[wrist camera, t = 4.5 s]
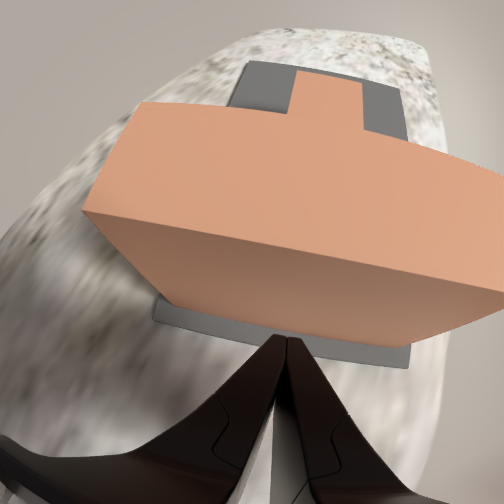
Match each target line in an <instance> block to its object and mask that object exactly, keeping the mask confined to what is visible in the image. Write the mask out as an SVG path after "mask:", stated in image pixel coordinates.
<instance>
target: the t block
mask: <svg viewBox="0 0 504 504" xmlns="http://www.w3.org/2000/svg"><path fill="white" fill-rule="evenodd" d="M81 210H82V211H83V213H84V214H85V215H86V216H87V217H88V218H89V219H90V220H91V222H92V223H93V224H94V225H95V226H96V227H97V228H98V229H99V230H100V231H101V233H102V234H103V235H104V236H105V237H106V238H107V239H108V240H109V241H110V242H111V243H112V244H113V245H114V246H115V247H116V249H117V250H118V251H119V252H120V253H121V254H122V255H123V256H124V257H125V258H126V259H127V260H128V261H129V262H130V263H131V264H132V265H133V266H134V267H135V268H136V269H137V270H138V271H139V272H140V273H141V274H142V275H143V276H144V277H145V278H146V279H147V280H148V281H149V282H150V283H151V284H152V285H153V286H154V287H155V288H156V289H157V290H158V291H159V292H160V293H161V294H162V295H163V296H164V297H165V298H166V299H167V300H169V301H170V302H171V303H172V304H173V305H174V306H176V307H180V308H184V309H188V310H192V311H196V312H200V313H204V314H209V315H213V316H217V317H222V318H226V319H231V320H235V321H240V322H244V323H249V324H254V325H259V326H263V327H268V328H273V329H278V330H284V331H289V332H294V333H299V334H305V335H311V336H316V337H322V338H328V339H334V340H340V341H346V342H353V343H359V344H366V345H373V346H380V347H388V348H398V347H402V346H405V345H408V344H411V343H414V342H417V341H420V340H424V339H427V338H430V337H432V336H435V335H438V334H441V333H444V332H447V331H449V330H452V329H455V328H458V327H460V326H463V325H465V324H468V323H471V322H473V321H476V320H478V319H481V318H483V317H485V316H488V315H490V314H493V313H495V312H497V311H500V310H502V309H504V176H501V175H500V174H497V173H495V172H492V171H490V170H488V169H485V168H483V167H480V166H477V165H475V164H473V163H470V162H467V161H465V160H462V159H459V158H456V157H454V156H451V155H448V154H445V153H442V152H439V151H436V150H433V149H430V148H427V147H424V146H421V145H418V144H414V143H411V142H408V141H404V140H401V139H397V138H394V137H390V136H386V135H383V134H379V133H375V132H371V131H367V130H364V123H363V94H362V83H360V82H355V81H351V80H347V79H342V78H337V77H332V76H327V75H322V74H317V73H311V72H305V71H299V70H297V73H296V77H295V82H294V86H293V90H292V95H291V99H290V103H289V108H288V112H287V114H282V113H275V112H268V111H261V110H253V109H244V108H235V107H225V106H214V105H201V104H184V103H158V102H141V104H140V105H139V107H138V108H137V110H136V111H135V113H134V114H133V116H132V118H131V119H130V121H129V122H128V124H127V126H126V127H125V129H124V130H123V132H122V134H121V135H120V137H119V139H118V141H117V142H116V144H115V146H114V147H113V149H112V151H111V153H110V155H109V156H108V158H107V160H106V162H105V164H104V165H103V167H102V169H101V171H100V173H99V175H98V177H97V179H96V181H95V183H94V185H93V187H92V189H91V191H90V193H89V195H88V197H87V199H86V201H85V203H84V205H83V207H82V209H81Z"/></svg>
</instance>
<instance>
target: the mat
mask: <svg viewBox="0 0 504 504" xmlns="http://www.w3.org/2000/svg"><path fill="white" fill-rule="evenodd" d="M297 70H299V71H305V72H311V73H317V74H322V75H327V76H332V77H337V78H342V79H347V80H351V81H355V82H360V83H362V94H363V123H364V130H367V131H371V132H375V133H379V134H383V135H386V136H390V137H394V138H397V139H401V140H404V141H408V137H407V130H406V124H405V118H404V112H403V106H402V101H401V96H400V91H399V89H398V88H394V87H391V86H387V85H384V84H380V83H376V82H373V81H369V80H365V79H361V78H356V77H352V76H348V75H343V74H338V73H334V72H328V71H323V70H318V69H312V68H306V67H300V66H293V65H286V64H278V63H270V62H261V61H250V60H249V62H248V64H247V67H246V69H245V71H244V73H243V75H242V77H241V80H240V82H239V84H238V86H237V88H236V91H235V93H234V95H233V98H232V100H231V102H230V104H229V107H235V108H244V109H253V110H261V111H268V112H275V113H282V114H287V112H288V108H289V103H290V99H291V95H292V90H293V86H294V82H295V77H296V73H297ZM153 320H154V321H157V322H161V323H165V324H168V325H172V326H176V327H179V328H183V329H187V330H191V331H195V332H199V333H203V334H207V335H211V336H215V337H219V338H224V339H228V340H232V341H237V342H241V343H246V344H251V345H255V346H260V347H261V346H262V345H263V344H264V343H265V341H266V340H267V339H268V338H269V337H270V336H271V335H272V334H279V335H285V336H286V337H289V336H291V337H297V338H301V339H302V340H303V342H304V343H305V345H306V346H307V348H308V350H309V351H310V353H311V354H312V356H314V357H320V358H326V359H332V360H339V361H346V362H353V363H360V364H368V365H376V366H384V367H393V368H403V369H407V368H409V360H410V351H411V344H408V345H405V346H402V347H398V348H388V347H380V346H373V345H366V344H359V343H353V342H346V341H340V340H334V339H328V338H322V337H316V336H311V335H305V334H299V333H294V332H289V331H284V330H278V329H273V328H268V327H263V326H259V325H254V324H249V323H244V322H240V321H235V320H231V319H226V318H222V317H217V316H213V315H209V314H204V313H200V312H196V311H192V310H188V309H184V308H180V307H176V306H174V305H173V304H172V303H171V302H170V301H169V300H167V299H166V298H165V297H164V296H163V295H162V294H161V293H160V295H159V298H158V302H157V305H156V309H155V312H154V315H153Z"/></svg>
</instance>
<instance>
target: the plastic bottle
mask: <svg viewBox="0 0 504 504" xmlns="http://www.w3.org/2000/svg"><path fill="white" fill-rule="evenodd" d="M5 489H6V486H5V485H3V484H2V483H1V482H0V502H1V500H2V498H3V495H4V492H5Z"/></svg>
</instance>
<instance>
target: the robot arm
mask: <svg viewBox="0 0 504 504" xmlns="http://www.w3.org/2000/svg"><path fill="white" fill-rule="evenodd" d="M273 405H274V413H273V442H272V466H271V487H270V504H448V503H445V502H441V501H438V500H434V499H431V498H428V497H424V496H421V495H419V494H417V493H415V492H413V491H411V490H410V489H409V488H407V487H406V486H405V485H404V484H403V483H402V482H401V481H400V480H399V479H398V477H397V476H396V475H395V474H394V473H393V472H392V470H391V469H390V468H389V467H388V466H387V465H386V463H385V462H384V461H383V460H382V459H381V457H380V456H379V455H378V454H377V453H376V451H375V450H374V449H373V448H372V446H371V445H370V444H369V443H368V441H367V440H366V439H365V437H364V436H363V435H362V433H361V432H360V430H359V429H358V427H357V426H356V424H355V423H354V421H353V420H352V418H351V416H350V415H348V412H347V410H346V409H345V407H344V405H343V404H342V402H341V401H340V399H339V397H338V396H337V394H336V393H335V391H334V390H333V388H332V386H331V385H330V383H329V382H328V380H327V378H326V377H325V375H324V374H323V372H322V370H321V369H320V367H319V366H318V364H317V362H316V361H315V359H314V358H313V356H312V354H311V353H310V351H309V350H308V348H307V346H306V345H305V343H304V342H303V340H302V339H301V338H297V337H291V336H289V337H286V336H285V335H279V334H272V335H271V336H270V337H269V338H268V339H267V340H266V341H265V343H264V344H263V345H262V346H261V347H260V348H259V349H258V350H257V351H256V352H255V353H254V354H253V355H252V356H251V357H250V358H249V359H248V360H247V361H246V362H245V363H244V364H243V365H242V366H241V367H240V368H239V369H238V370H237V371H236V372H235V373H234V374H233V375H232V376H231V377H230V378H229V379H228V380H227V381H226V382H225V383H224V384H223V385H222V386H221V387H220V388H219V389H218V390H217V391H216V392H215V393H214V394H212V395H211V396H210V397H209V398H208V399H207V400H206V401H205V402H204V403H203V404H202V405H200V406H199V407H198V408H197V409H196V410H195V411H193V412H192V413H191V414H189V415H188V416H187V417H185V418H184V419H183V420H181V421H180V422H178V423H177V424H175V425H174V426H172V427H171V428H169V429H168V430H166V431H165V432H163V433H162V434H160V435H158V436H157V437H155V438H154V439H152V440H151V441H149V442H147V443H146V444H144V445H142V446H141V447H139V448H137V449H135V450H133V451H130V452H127V453H123V454H117V455H105V456H89V457H48V456H43V455H39V454H36V453H33V452H31V451H29V450H27V449H25V448H23V447H22V446H20V445H19V444H18V443H16V442H15V441H13V440H12V439H10V438H9V437H7V436H5V435H1V434H0V482H1V483H2V484H3V485H5V486H6V487H7V488H8V489H9V490H10V491H11V492H12V493H13V495H12V497H11V498H10V500H9V501H8V503H7V504H238V503H239V500H240V498H241V495H242V493H243V490H244V488H245V485H246V482H247V480H248V477H249V474H250V472H251V469H252V466H253V464H254V461H255V458H256V456H257V453H258V450H259V447H260V444H261V441H262V439H263V436H264V433H265V430H266V427H267V424H268V421H269V418H270V415H271V412H272V409H273Z"/></svg>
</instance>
